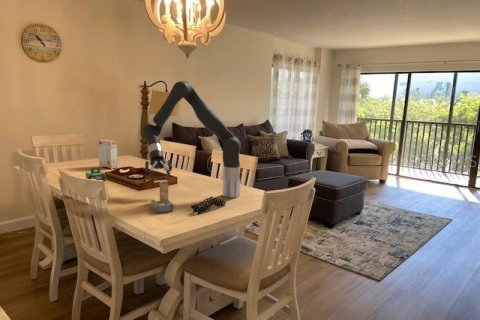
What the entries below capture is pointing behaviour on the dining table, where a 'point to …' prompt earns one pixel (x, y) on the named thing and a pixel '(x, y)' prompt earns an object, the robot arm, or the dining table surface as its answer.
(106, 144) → the cracker box
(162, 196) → the tan wooden block
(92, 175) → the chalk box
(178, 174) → the dining table surface
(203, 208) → the decorative element
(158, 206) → the end cap
